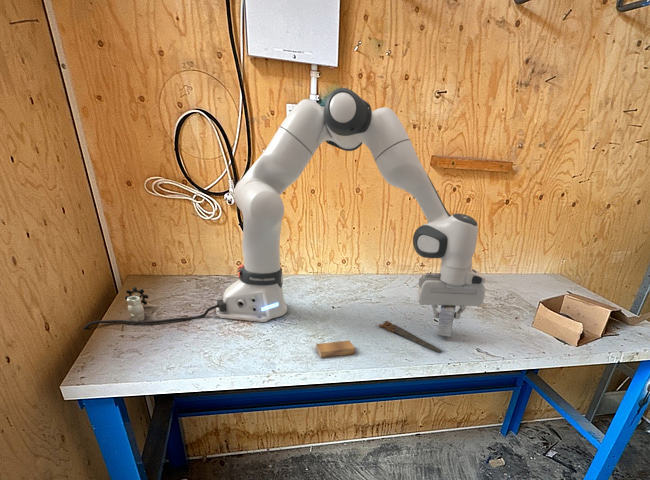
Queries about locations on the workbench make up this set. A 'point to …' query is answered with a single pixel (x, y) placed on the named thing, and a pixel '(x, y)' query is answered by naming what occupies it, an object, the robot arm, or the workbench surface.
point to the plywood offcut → (335, 349)
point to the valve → (136, 304)
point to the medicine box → (445, 320)
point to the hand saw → (407, 335)
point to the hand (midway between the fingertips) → (446, 317)
